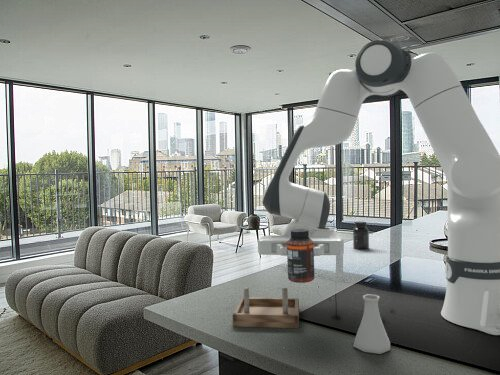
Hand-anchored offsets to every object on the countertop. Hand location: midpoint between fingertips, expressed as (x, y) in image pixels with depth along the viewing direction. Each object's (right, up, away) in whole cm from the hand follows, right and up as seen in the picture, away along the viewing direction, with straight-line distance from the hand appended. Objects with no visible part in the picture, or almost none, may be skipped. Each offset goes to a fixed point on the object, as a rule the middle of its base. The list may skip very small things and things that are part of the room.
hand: (300, 252), depth 84 cm
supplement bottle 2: (+39, -14, +89) cm, 98 cm away
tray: (-7, -17, +8) cm, 20 cm away
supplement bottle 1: (0, -7, +1) cm, 7 cm away
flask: (+13, -17, -9) cm, 24 cm away
